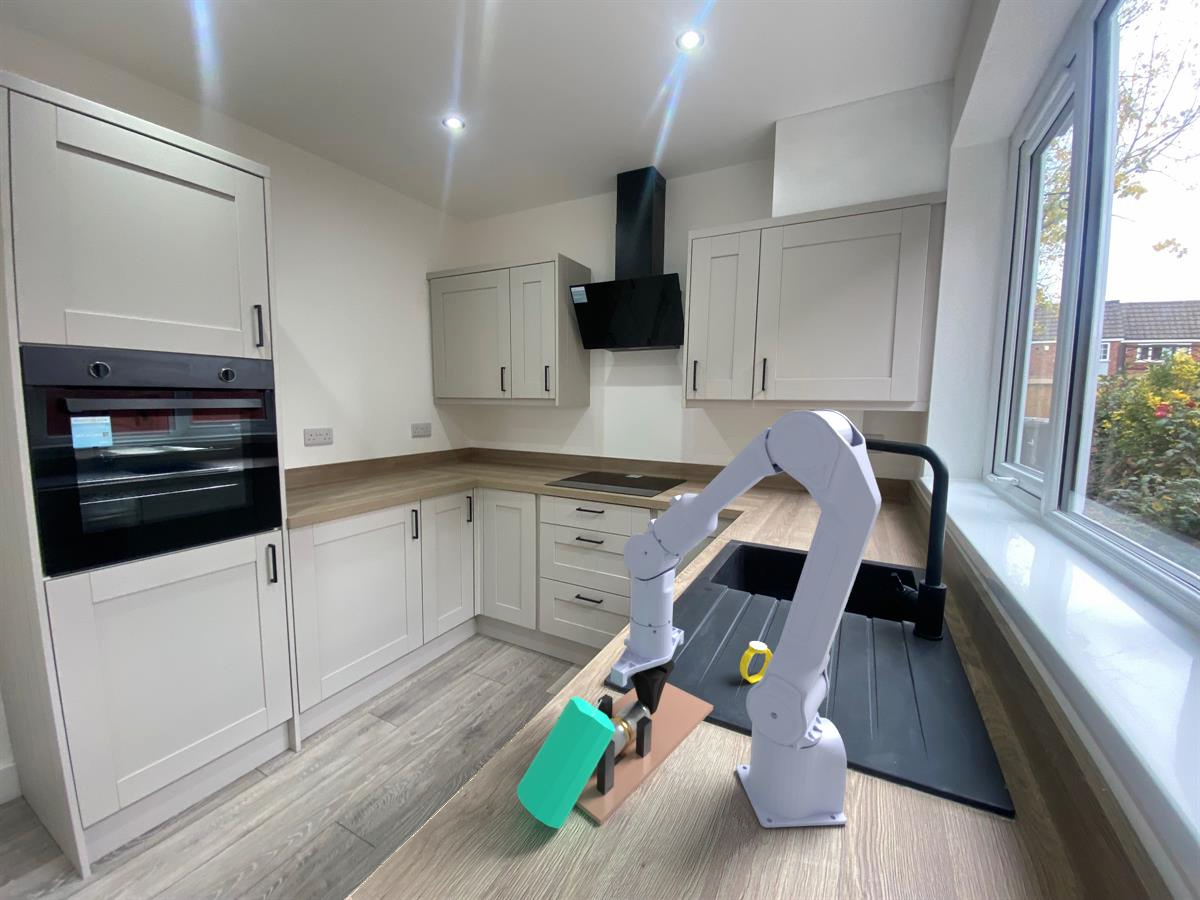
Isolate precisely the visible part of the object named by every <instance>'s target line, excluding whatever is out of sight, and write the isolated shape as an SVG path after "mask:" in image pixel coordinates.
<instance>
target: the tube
mask: <svg viewBox="0 0 1200 900" xmlns="http://www.w3.org/2000/svg"><path fill="white" fill-rule="evenodd" d="M643 716H646V717H647V718H649V719H650V717H651V716H650V711H649V708H648V707H647V705H646V704H645V703H643V702H641V701H632V702H630V703H629V704H628V705H626V706H625V707H624V708H623V709H622V710H621V711H619V712H618V713H617V714H616V715H615V716H613V717H612V718H611V719H610V721H611V722H612V724H613V726H614V729H615V734H614V735H613V737H612V739H611V740H613V741H614V742H615V758H616V757H617V756H618V755H620V754H619V753H620V752H621V751H622V750H624V749H625V748H626V747H627V746H628V745H629V744H630V743H631V742H632V741H633V740H634V739H635V738H636V729H637V721H639V720H640V719H641V718H642V717H643ZM595 769H597V766H596V767H595Z"/></svg>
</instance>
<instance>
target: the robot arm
mask: <svg viewBox="0 0 1200 900" xmlns="http://www.w3.org/2000/svg"><path fill="white" fill-rule="evenodd" d="M781 473H786V474H788V475H789V476H791V478H793V479H795V480H796V481H797V482H798V483H800V484H801V485H802V486H803V487H805V488H806V489H807V491H808V493H809V494H810V495H811V497H812V498H813V500H814V501H815V502H816V504H817V505H818V507H819V508H820V514H819V519H818V521H817V524H816V527H815V530H814V533H813V536H812V540H811V542H810V547H809V549H808V551H807V556H806V558H805V561H804V564H803V568H802V570H801V574H800V577H799V580H798V583H797V585H796V586H797V587H796V589H795V592H794V595H793V598H792V601H791V605H790V608H789V611H788V614H787V617H786V621H785V623H784V626H783V630H782V633H781V636H780V639H779V642H778V644H777V646H776V648H775V651H774V652H773V653H772V655H773V656H772V658H771V660H770V662H769V663H768V665H767V667H766V670H765V673H764V676H763V677H762V678H761V680H760V681H758V682H756V683H754V685H753V686H752V687H751V688H750V689H749V691H748V693H747V694H746V695H747V696H746V698H745V699H746V700H745V704H746V705H745V707H746V711H747V715H748V718H749V719H750V721H751V723H752V727H751V742H750V743H751V744H750V756H749V757H750V759H749V764H738V765H737V766H735V767H736V768H735V769H736V773H737V775H738V778H739V780H740V782H741V783H742V786H743V788H744V791H745V793H746V796H747V797H748V800H749V802H750V804H751V806H752V809H753V810H754V813H755V815H756V817H757V820H758V822H759V823H760V826H762V827H763V828H787V827H788V828H790V827H806V826H807V827H809V826H810V827H811V826H827V825H828V826H833V825H836V826H837V825H846V824H847V823H848V822H847V821H848V818H847V817H846V815H845V813H844V802H845V801H844V800H845V792H846V782H847V780H846V779H847V769H848V766H847V765H848V762H847V761H848V759H847V752H846V748H845V744H844V741H843V739H842V737H841V734H840V733H839V730H838V729H837V727H836V725H835V724H834V723H833V722H832V721H831V720H830V719H828V718H826V717H821V716H820V713H819V711H818V709H819V708H820V705H821V704H822V703H823V701H824V700H825V699H826V698H827V696H828V694H829V691H830V681H829V676H828V665H829V662H830V660H831V659H830V658H831V656H830V651H831V648H832V645H833V642H834V640H835V636H836V634H837V631H838V628H839V626H840V622H841V620H842V617H843V614H844V611H845V608H846V605H847V603H848V600H849V597H850V596H851V595H850V594H851V592H852V589H853V586H854V583H855V581H856V577H857V574H858V573H859V570H860V566H861V563H862V561H863V558H864V556H865V555H864V554H865V552H866V550H867V546H868V544H869V541H870V539H871V538H870V537H871V536H872V532H873V530H874V528H875V524H876V522H877V519H878V516H879V513H880V510H881V508H882V507H881V506H882V496H881V492H880V489H879V486H878V483H877V480H876V477H875V474H874V471H873V468H872V465H871V462H870V459H869V456H868V451H867V444H866V438H865V437H864V435H863V434H862V433H861V432H860V430H858V429H857V428H856V425H854V424H853V423H852V421H851V420H850V419H849V418H848V417H847V416H845V415H844V414H843V413H841V412H839V411H836V410H834V409H827V408H826V409H825V408H823V409H818V410H817V409H816V410H807V409H796V410H791V411H789V412H787V413H785V414H782V415H781V416H780V417H779V418H777V420H776V421H775V422H774V423H773V425H772V426H771V427H767V428H766V429H764V430H762V431H761V432H759V433H758V434H757V435H756V436H755V437H754V438H753V439H752V440H751V441H750V442H749V443H748V444H747V445H746V446H744V448H743V449H742V450H741V451H740V452H739V453H738V454H737V455H735V457H734V458H733V459H731V461H730V462H729V463H728V464H727V465H726V466H725V467H724V468H723V469H722V470H721V471H720V472H719V473H718V474H717V475H716V476H715V477H714V478H713V479H712V480H711V481H710V482H709V483H708V484H707V485H706V486H705V488H703V490H701V491H700V492H699V493H698V494H697V493H691V492H690V493H689V492H686V493H684V494H682V495H681V494H678V495H675V496H673V497H672V498H670V500H669V501H668V504H669V505H670V506H669V507H668V509H666V510H665V511H664V512H663V513H662V514H661V515H660V516H659V517H657V518H653V519H651V520H649V521H648V522H647V524H646V525H647V529H646V531H645V532H642V533H639V532H638V533H635V534H632V535H630V537H628V540H627V541H626V543H625V545H624V547H623V552H622V553H623V555H622V556H623V560H624V564H625V566H626V569H627V570H628V571H629V572H630V573H631V574H630V575H631V580H630V606H629V607H630V608H629V609H630V613H629V617H630V618H629V636H627V637H625V638H624V639H623V645H624V646H626V647H625V648H624V650H623V652H622V654H620V657H619V659H618V660H617V661H616V663H614V665H613V664H612V666H611V667H610V679H609V680H610V682H612V683H613V684H615V685H616V686H619V687H621V688H624V687H625V686H626V685H628V679H631V682H632V684H633V688H635V690H636V694H637V698H638V701H641V702H643V703H645V704H646V705H647V707H648V708H649V711H650V715H652V714H654V713H655V712H656V710H657V708H658V704H659V701H660V698H661V694H662V691H663V688H664V686H665V683H666V682H667V681H668V679H669V677H670V675H671V673H672V672H673V671H674V669H675V661H674V660H673V659H672V658H673V655H674V653H675V651H676V649H677V647H678V646H681V645H683V644H684V639H685V638H684V637H685V636H684V635H685V630H682V629H680V628H677V627H675V626H673V613H674V612H673V611H674V608H673V607H674V589H675V587H674V586H675V585H674V584H675V577H676V569H677V567H678V566H679V565H680V564H681V563H682V561H683V560H684V556H686V555H687V554H688V553H689V552H691V551H692V550H693V549H694V548H695V547H697V546H698V545H699V544H700V543H701V542H703V541H704V540H705V539H706V538H707V537H709V536H710V535H711V534H712V533H714V532H715V531H716V529H717V527H718V521H719V519H718V517H719V516H718V515H719V513H721V512H722V511H723V510H724V509H725V508H727V507H728V506H729V505H731V504H732V503H733V502H734V501H736V500H737V499H738V498H740V497H741V496H742V495H744V494H745V493H746V492H747V491H748V490H750V489H751V488H752V487H754V486H755V485H756V484H758V483H759V482H761V480H763V479H764V478H765V477H769V476H775V475H779V474H781Z"/></svg>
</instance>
